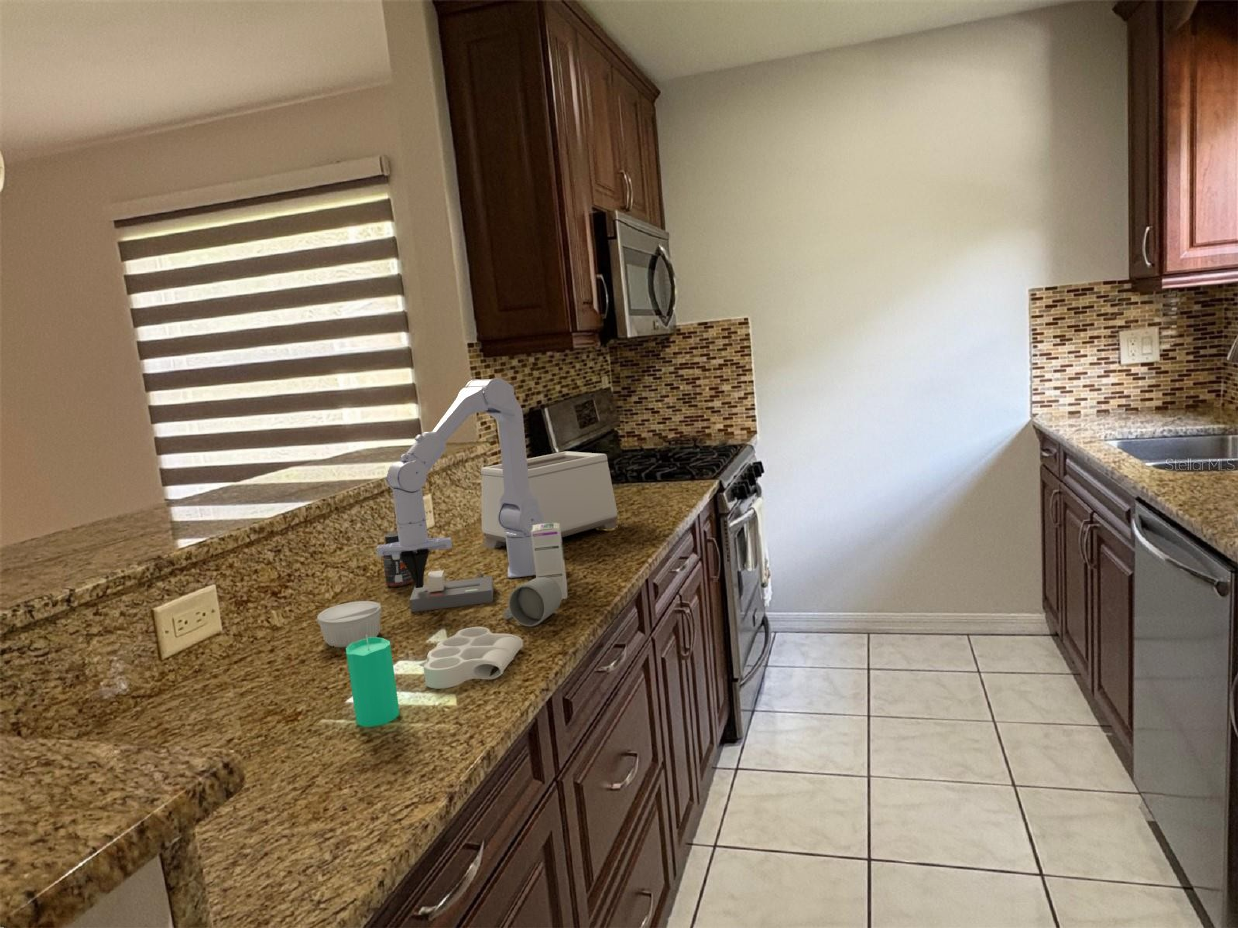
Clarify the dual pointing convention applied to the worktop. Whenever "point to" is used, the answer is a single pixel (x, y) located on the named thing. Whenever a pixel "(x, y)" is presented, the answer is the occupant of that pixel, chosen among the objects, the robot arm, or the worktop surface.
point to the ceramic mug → (534, 601)
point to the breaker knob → (436, 581)
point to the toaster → (556, 494)
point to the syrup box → (549, 554)
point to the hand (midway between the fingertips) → (419, 586)
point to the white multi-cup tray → (469, 657)
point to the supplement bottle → (395, 566)
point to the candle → (372, 681)
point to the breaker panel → (453, 594)
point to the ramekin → (350, 622)
